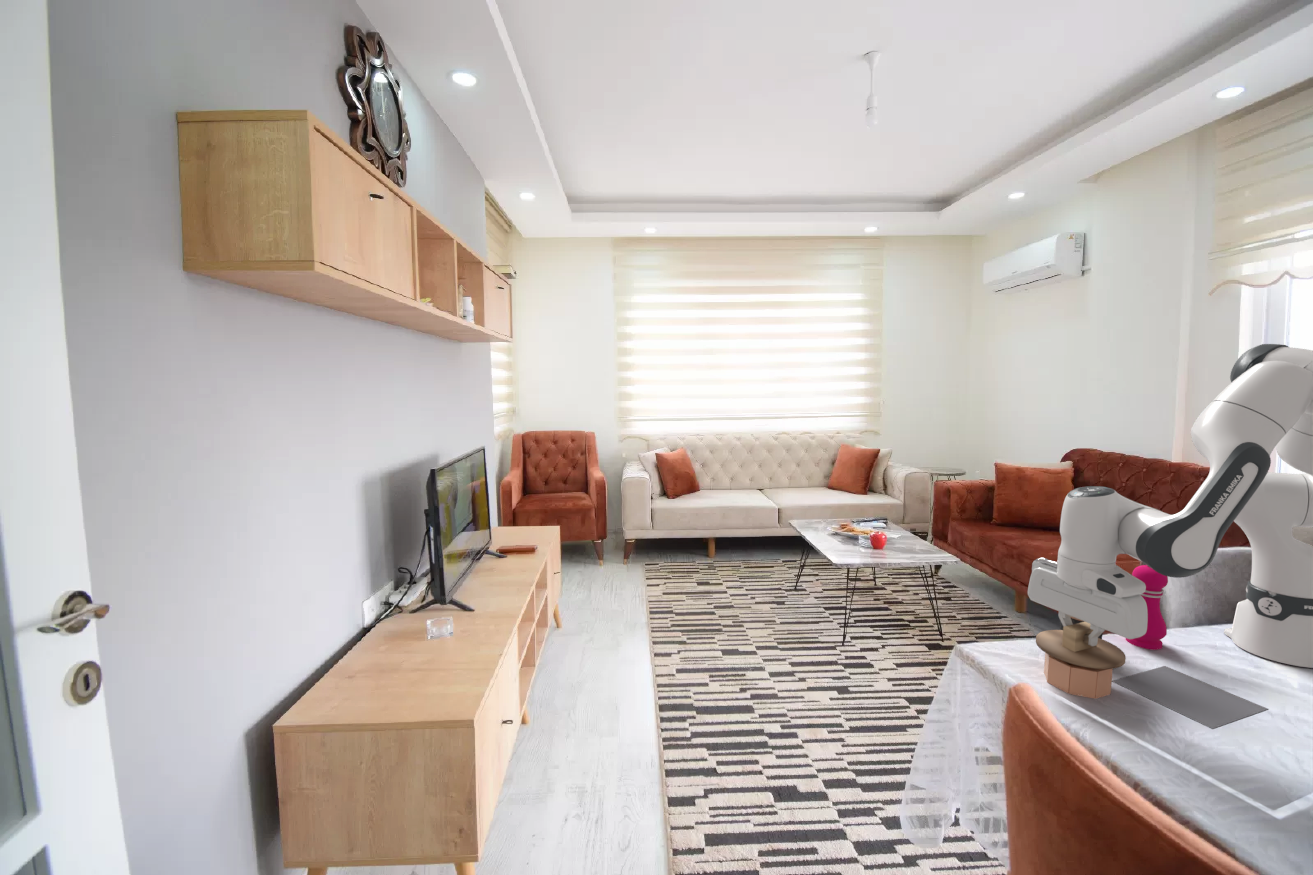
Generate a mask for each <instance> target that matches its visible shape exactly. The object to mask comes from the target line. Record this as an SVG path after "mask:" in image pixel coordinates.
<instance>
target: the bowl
mask: <svg viewBox="0 0 1313 875" xmlns="http://www.w3.org/2000/svg"><path fill="white" fill-rule="evenodd" d="M1113 671H1114V670H1113V669H1096V668H1088V667H1083V666H1078V665H1074V664H1071V663H1068V662H1065V661H1062V660H1059V659H1057V658H1055V657H1052V656H1050V655H1049V654H1047V653H1045V652H1044V666H1043V675H1044V677H1045V680H1046V683H1047V684H1050V686H1051V685H1052V686H1053V687H1055V688H1057V689H1059V690H1060V691H1063V692H1065V693H1067V694H1069V695H1073V696H1079V697H1084V698H1089V699H1095V700H1097V699H1099V698H1104V697H1106V696H1109V695H1111V694H1112V693H1111V692H1112V683H1113V682H1112V681H1113Z"/></svg>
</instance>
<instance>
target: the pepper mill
mask: <svg viewBox="0 0 1313 875" xmlns="http://www.w3.org/2000/svg"><path fill="white" fill-rule="evenodd" d="M1131 575H1132V576H1134V577H1136V578H1138V579H1139V580H1141V581H1142V582H1144V583H1145V585H1146V590H1145V592H1144V593H1142V594H1139V595H1141V596H1142V597H1143V598H1144V600H1145V602H1146V604H1147V614H1148V622H1147V631H1146V633H1145V634H1144V635H1143V636H1141V637H1138V638H1135V639H1127V638H1125V642H1127V643H1128V644H1131V645H1132V646H1134V647H1137V648H1140V649H1141V648H1142V649H1145V650H1150V651H1151V650H1153V651H1155V650H1157V651H1158V650H1161V649H1163V645H1164V644H1163V640H1162V639H1164V638H1165V637H1166V636H1167V635H1168V632H1167V630H1168V629H1167V628H1168V627H1167V624H1166V622H1165V619H1164V617H1163V615H1162V611H1161V599H1162V598H1163V597H1164V593H1165V592H1164V589H1163V588H1165V587H1167V585H1168V582H1169V577H1168V576H1165V575H1162V574H1160V573H1158V572H1156V571H1155V570H1153V569H1152V568H1150V567H1149V566H1147V565H1146V564H1141V565H1138V566H1136V567H1135V568H1134V569H1133V570H1132V573H1131Z"/></svg>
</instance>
